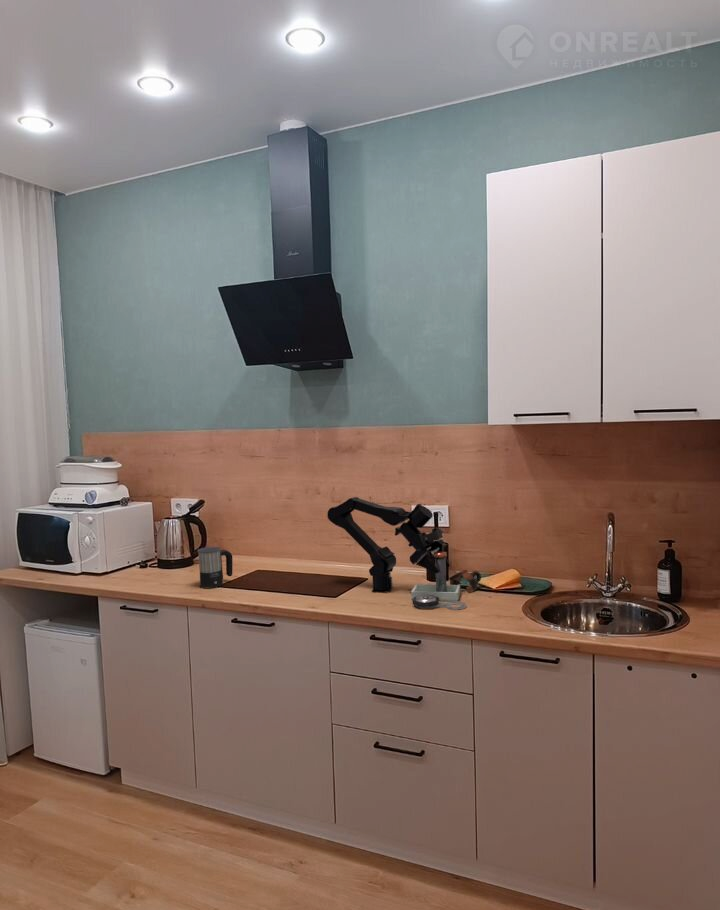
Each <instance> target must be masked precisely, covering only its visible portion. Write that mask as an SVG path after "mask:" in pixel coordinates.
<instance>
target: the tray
mask: <svg viewBox="0 0 720 910" xmlns="http://www.w3.org/2000/svg"><path fill="white" fill-rule="evenodd" d="M446 586H447V592H436V584H424V583H423V584H419V583H418V584H414V587H413V588H412V589H411V592H410V596H411V601H412V600H413V598H414V597H417V596H421V595H433V596H436V597H439V602H452V601H459V599H460V596H461V585H456V584H451V585H450V584H446Z"/></svg>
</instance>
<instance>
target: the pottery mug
mask: <svg viewBox="0 0 720 910" xmlns="http://www.w3.org/2000/svg"><path fill="white" fill-rule="evenodd" d="M475 577H476V579H475ZM462 578H463V580H465V581H468V583H469V585H468V586H466V587H465V589H466V590H467V593H468V594H469V593H472V592H474V591H477V590H478V584H479V583H480V582H481V580H482V574H481V573H480V571H478V570H475V571H473V572H469V571H468V570H467V569H464V570H461V571H460V572H457V573H455V574H454V575H451V576H450V577H449V578H448V579H449V580H450V581H449V585H458V584H462V583H461V582H462ZM479 581H480V582H479ZM478 582H479V583H478Z"/></svg>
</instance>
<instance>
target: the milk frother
mask: <svg viewBox="0 0 720 910" xmlns="http://www.w3.org/2000/svg"><path fill="white" fill-rule="evenodd" d="M197 554H198V567H199V587H200V586H201V587H216V588H219V587H218V586H220V587H221V585H222V586H223V585H224V573H223V560H222V556H225V567H226V568H225V569H226V570H225V574H226V575H227V576H228V577H232V576H233V554H232V553H231V552H230V551H229V550H226V549H222V548H221V547H220V546H207V547H202V548H199V549H197ZM201 587H200V588H201Z"/></svg>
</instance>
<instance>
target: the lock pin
mask: <svg viewBox="0 0 720 910" xmlns="http://www.w3.org/2000/svg"><path fill="white" fill-rule="evenodd" d="M447 556H448V555H447V551H445V550H444V551H437V552H434V557H435V559H434V560H435V561H434V562H435V563H434V564H435V566H436V567H437V568H438V570H439V572H438V573H435V585H436V592H447V586H446V585H447V567H446V559H445V557H446V558H447Z"/></svg>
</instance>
